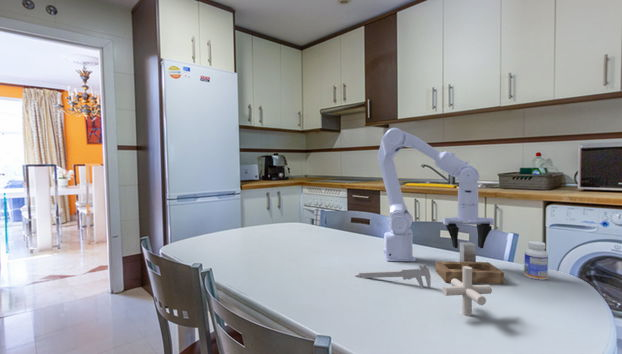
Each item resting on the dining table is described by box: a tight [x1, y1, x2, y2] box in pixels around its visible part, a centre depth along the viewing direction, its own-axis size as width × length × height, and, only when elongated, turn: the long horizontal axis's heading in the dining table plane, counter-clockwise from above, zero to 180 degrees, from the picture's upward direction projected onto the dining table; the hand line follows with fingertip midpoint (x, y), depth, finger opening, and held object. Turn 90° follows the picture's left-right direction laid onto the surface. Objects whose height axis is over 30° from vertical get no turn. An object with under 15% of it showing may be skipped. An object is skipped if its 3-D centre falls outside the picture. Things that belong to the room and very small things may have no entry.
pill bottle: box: [523, 240, 549, 281], centre depth 88 cm, size 5×5×10 cm
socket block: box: [435, 260, 505, 285], centre depth 89 cm, size 15×9×3 cm, turn 85°
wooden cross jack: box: [441, 266, 493, 317], centre depth 67 cm, size 10×10×10 cm
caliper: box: [354, 263, 432, 289], centre depth 86 cm, size 20×1×6 cm, turn 63°
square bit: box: [459, 241, 477, 262], centre depth 99 cm, size 4×4×7 cm
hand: (467, 247), depth 99 cm, fingers open, 7 cm apart
